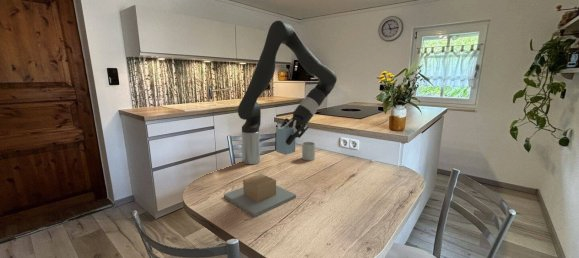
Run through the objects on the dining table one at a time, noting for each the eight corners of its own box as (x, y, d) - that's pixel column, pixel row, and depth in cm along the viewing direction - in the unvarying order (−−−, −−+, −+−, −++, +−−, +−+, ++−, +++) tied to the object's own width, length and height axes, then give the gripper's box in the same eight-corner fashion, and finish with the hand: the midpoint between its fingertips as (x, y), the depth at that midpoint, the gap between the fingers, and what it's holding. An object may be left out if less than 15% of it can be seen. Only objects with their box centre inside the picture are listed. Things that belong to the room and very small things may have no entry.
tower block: (276, 151, 104) (276, 128, 102) (285, 149, 108) (286, 126, 106) (285, 154, 101) (285, 130, 98) (295, 151, 104) (295, 128, 102)
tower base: (224, 197, 99) (223, 179, 98) (264, 182, 113) (263, 166, 111) (254, 217, 85) (254, 197, 84) (296, 197, 99) (296, 180, 97)
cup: (299, 159, 144) (299, 143, 142) (309, 154, 152) (309, 140, 150) (310, 161, 140) (310, 146, 138) (319, 156, 148) (320, 142, 146)
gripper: (290, 102, 110) (267, 132, 106) (312, 106, 99) (287, 140, 94) (300, 113, 114) (278, 143, 110) (321, 118, 103) (298, 151, 99)
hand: (282, 141), depth 102 cm, fingers closed on tower block, 6 cm apart
